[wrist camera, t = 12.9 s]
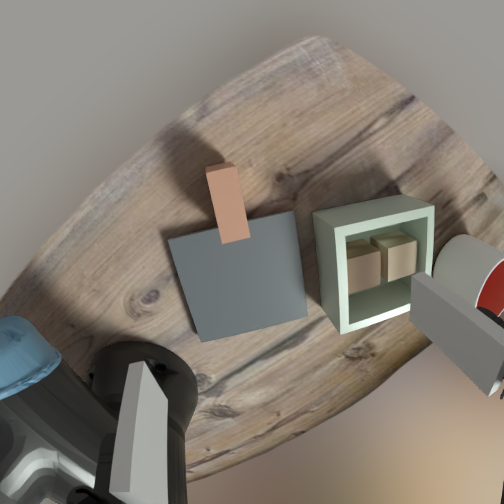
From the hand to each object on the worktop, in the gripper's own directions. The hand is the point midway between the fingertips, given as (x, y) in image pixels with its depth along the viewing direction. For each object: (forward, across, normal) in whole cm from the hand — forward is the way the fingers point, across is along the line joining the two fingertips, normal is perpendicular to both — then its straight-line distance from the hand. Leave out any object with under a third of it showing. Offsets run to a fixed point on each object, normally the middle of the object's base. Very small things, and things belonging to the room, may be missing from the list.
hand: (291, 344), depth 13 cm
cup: (+19, +30, -14) cm, 38 cm away
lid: (+20, -1, -3) cm, 20 cm away
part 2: (+18, +16, -7) cm, 25 cm away
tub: (+19, +14, -7) cm, 25 cm away
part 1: (+18, +11, -7) cm, 23 cm away
